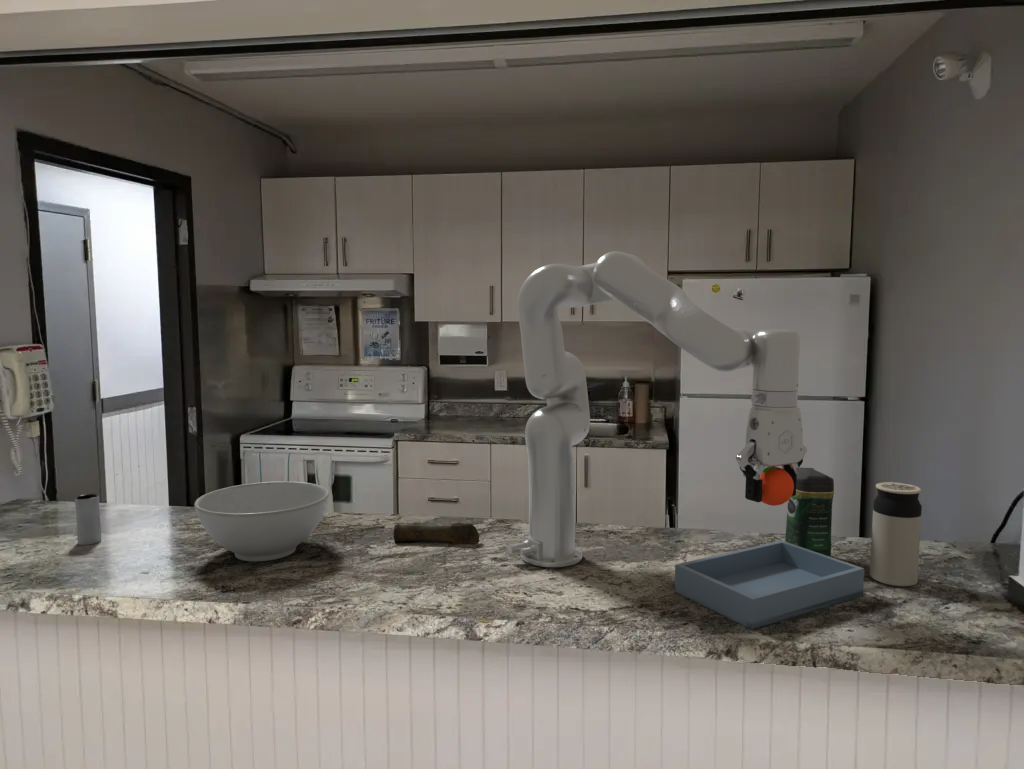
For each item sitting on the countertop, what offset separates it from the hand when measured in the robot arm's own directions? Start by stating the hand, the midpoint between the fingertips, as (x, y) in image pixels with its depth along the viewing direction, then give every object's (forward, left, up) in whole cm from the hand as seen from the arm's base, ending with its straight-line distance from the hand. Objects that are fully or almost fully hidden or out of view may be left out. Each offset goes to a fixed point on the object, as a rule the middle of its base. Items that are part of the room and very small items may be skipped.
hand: (770, 496), depth 126 cm
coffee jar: (+22, +9, -18) cm, 30 cm away
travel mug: (+26, -7, -18) cm, 32 cm away
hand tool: (-40, +57, -18) cm, 72 cm away
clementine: (0, 0, -2) cm, 2 cm away
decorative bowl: (-75, +68, -18) cm, 103 cm away
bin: (0, 0, -18) cm, 18 cm away
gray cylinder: (-108, +94, -18) cm, 144 cm away
